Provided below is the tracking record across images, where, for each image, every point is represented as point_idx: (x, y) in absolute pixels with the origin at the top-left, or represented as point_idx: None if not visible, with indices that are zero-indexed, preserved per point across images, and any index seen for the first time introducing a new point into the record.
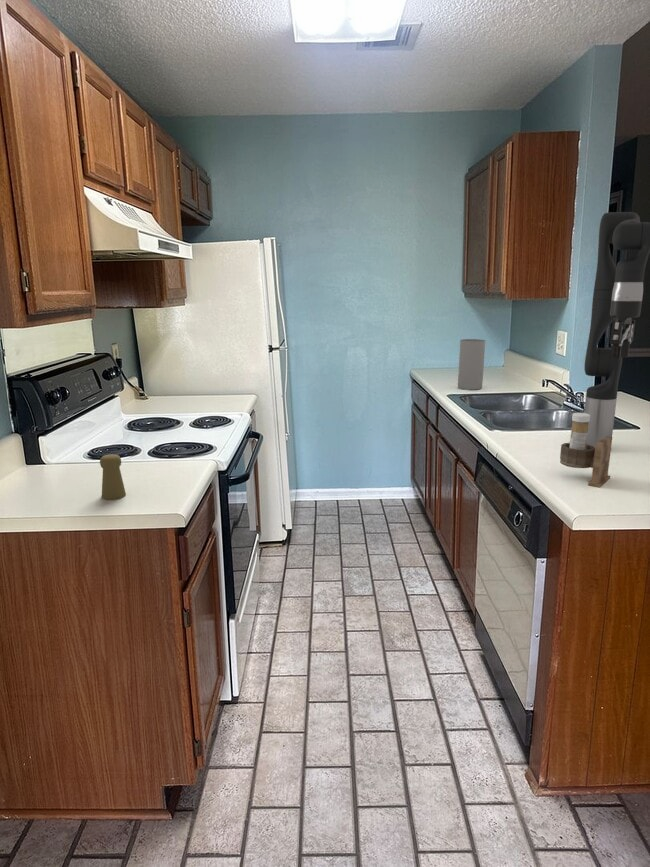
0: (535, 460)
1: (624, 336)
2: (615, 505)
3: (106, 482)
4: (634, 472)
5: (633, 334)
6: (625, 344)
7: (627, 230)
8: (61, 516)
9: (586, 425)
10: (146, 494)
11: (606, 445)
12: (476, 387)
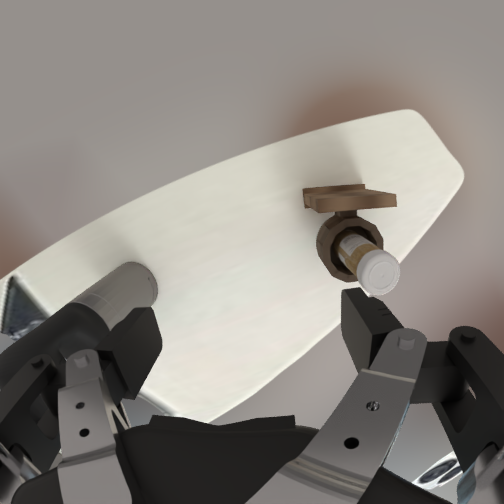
0: (290, 323)
1: (413, 387)
2: (416, 141)
3: None
4: (231, 172)
5: (11, 380)
6: (121, 372)
7: None
8: None
9: (380, 249)
10: None
11: (356, 195)
12: (60, 456)
